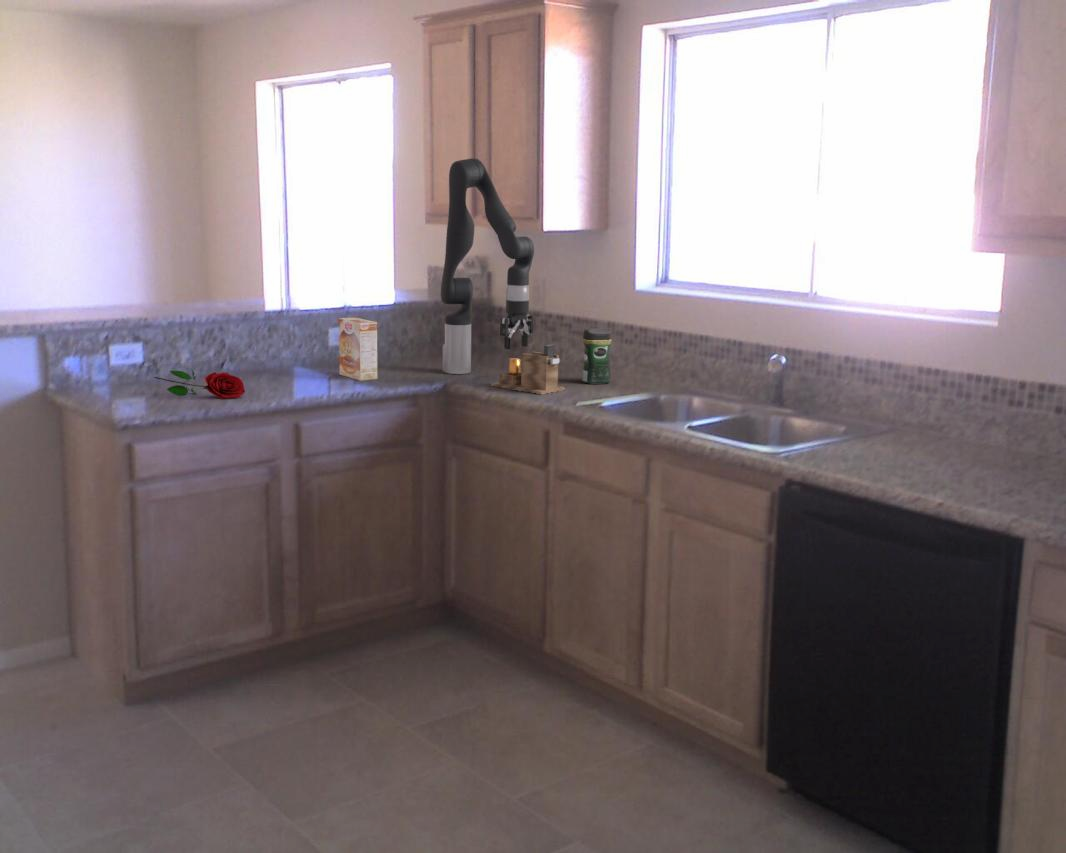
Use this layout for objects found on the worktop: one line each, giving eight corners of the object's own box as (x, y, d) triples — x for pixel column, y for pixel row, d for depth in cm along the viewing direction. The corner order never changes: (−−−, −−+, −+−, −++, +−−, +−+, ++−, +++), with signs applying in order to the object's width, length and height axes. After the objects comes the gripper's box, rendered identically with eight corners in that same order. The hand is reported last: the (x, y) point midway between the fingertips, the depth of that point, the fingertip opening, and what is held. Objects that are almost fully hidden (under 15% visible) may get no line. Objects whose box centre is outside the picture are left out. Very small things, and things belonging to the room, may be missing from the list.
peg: (514, 384, 372) (515, 360, 370) (506, 382, 374) (507, 358, 372) (522, 383, 375) (522, 359, 373) (513, 381, 377) (514, 357, 375)
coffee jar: (605, 380, 390) (607, 326, 386) (613, 384, 383) (615, 329, 379) (578, 380, 388) (580, 326, 384) (585, 384, 380) (587, 329, 376)
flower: (149, 357, 343) (242, 370, 339) (162, 367, 352) (252, 380, 348) (142, 385, 341) (235, 398, 337) (155, 395, 350) (246, 408, 346)
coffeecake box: (338, 374, 389) (337, 317, 385) (357, 373, 393) (356, 317, 389) (359, 380, 377) (358, 322, 373) (378, 379, 382) (378, 321, 378)
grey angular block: (524, 359, 368) (524, 342, 367) (531, 358, 370) (531, 341, 369) (552, 364, 360) (553, 346, 359) (559, 363, 363) (559, 345, 362)
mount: (491, 386, 373) (491, 350, 371) (515, 382, 382) (515, 347, 380) (540, 394, 360) (541, 357, 357) (564, 390, 369) (565, 354, 366)
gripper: (512, 301, 361) (510, 351, 365) (540, 298, 372) (538, 347, 376) (494, 299, 366) (493, 348, 369) (522, 296, 377) (521, 344, 380)
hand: (516, 347), depth 373 cm, fingers open, 8 cm apart
